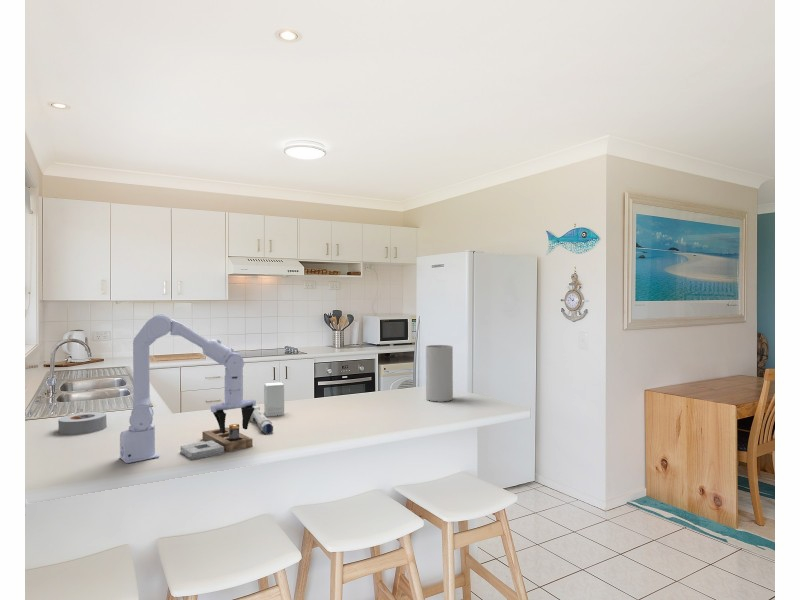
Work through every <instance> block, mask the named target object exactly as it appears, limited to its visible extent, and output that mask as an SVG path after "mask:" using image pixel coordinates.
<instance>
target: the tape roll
mask: <svg viewBox="0 0 800 600" xmlns="http://www.w3.org/2000/svg"><path fill="white" fill-rule="evenodd" d="M57 422H58V424H57V425H58V434H60V435H64V436H75V435H76V436H77V435H85V434H92V433H97V432H100V431H103V430H105V429H106V428H107V427H108V426H107V425H108V424H107V414H106V413H105V412H99V411H91V412H89V411H87V412H80V413H74V414H68V415H65V416H62V417H60V418H59V419H58V421H57Z"/></svg>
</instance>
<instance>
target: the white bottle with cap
mask: <svg viewBox="0 0 800 600" xmlns="http://www.w3.org/2000/svg"><path fill="white" fill-rule="evenodd" d="M253 407H254V411H253V413H252V415H251V417H250V420H249V422H251V423H257V425H258V427H259V430H260V431H262V432H263V433H264V434H265V435H266V434H271V433H272V432H274V426H273V422H272V421H271V420H269V419H268V418H267V416H266V415H265V414H264V413H262V411H261V408H260V406H259V405H258V404H256V406H253Z"/></svg>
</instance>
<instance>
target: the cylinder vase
mask: <svg viewBox="0 0 800 600" xmlns="http://www.w3.org/2000/svg"><path fill="white" fill-rule="evenodd" d="M453 354H454V352H453V345H447V344H437V345H436V344H432V345H431V344H430V345H426V346H425V400H426V401H429V400H430V401H429V402H433V401H438V402H437V403H445V402H444V401H447V402H451V401H452V400H453V397H454V393H453V391H454V390H453V387H454V386H453V385H454V381H453V380H454V379H453V378H454V377H453V376H454V375H453V372H454V371H453V370H454V369H453V368H454V367H453ZM450 400H451V401H450Z"/></svg>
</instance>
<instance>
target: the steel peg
mask: <svg viewBox="0 0 800 600" xmlns="http://www.w3.org/2000/svg"><path fill="white" fill-rule="evenodd" d="M228 428H229V441H230V442H231V441H236V440H239V433H240V424H239V423H232V424H229V425H228Z"/></svg>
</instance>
